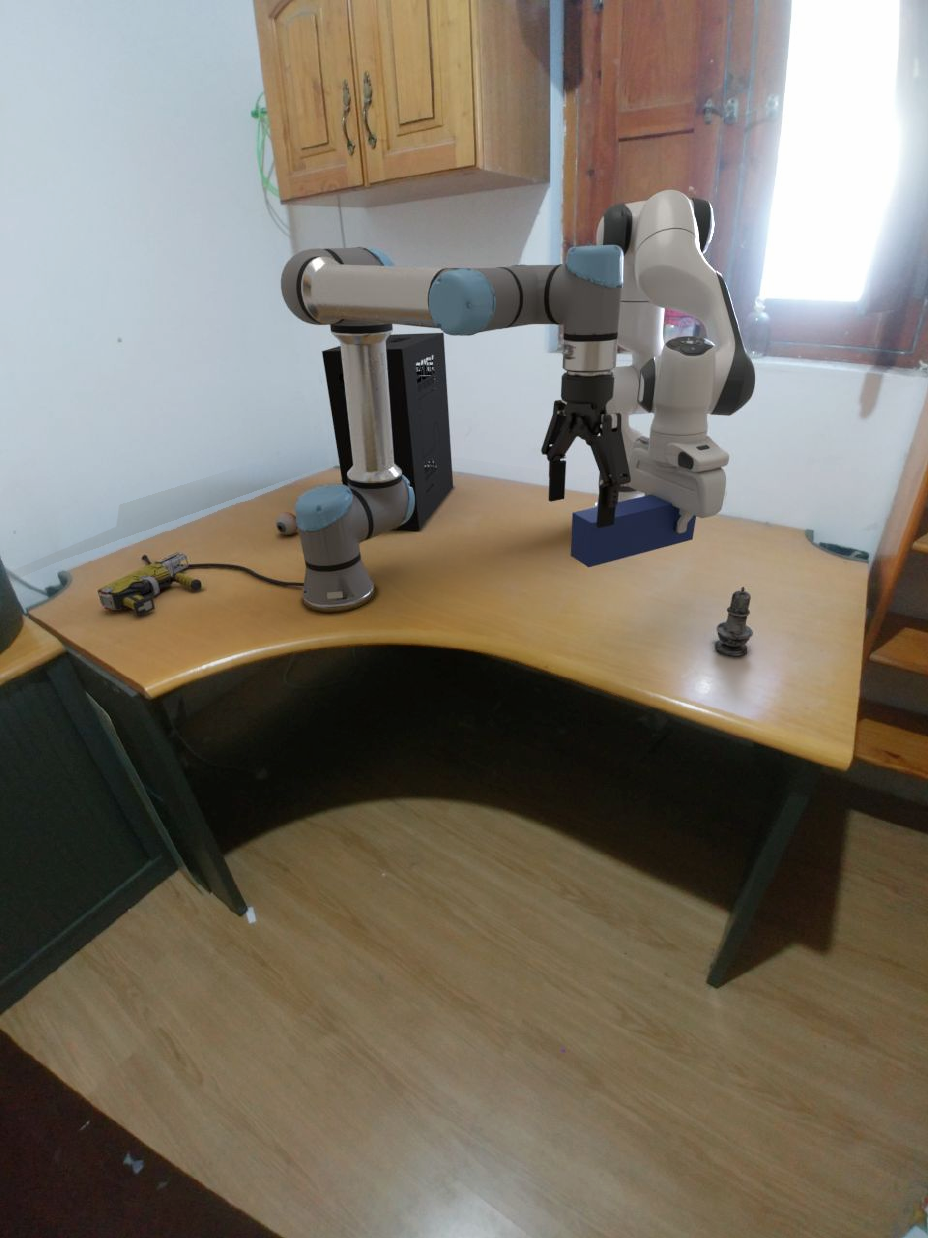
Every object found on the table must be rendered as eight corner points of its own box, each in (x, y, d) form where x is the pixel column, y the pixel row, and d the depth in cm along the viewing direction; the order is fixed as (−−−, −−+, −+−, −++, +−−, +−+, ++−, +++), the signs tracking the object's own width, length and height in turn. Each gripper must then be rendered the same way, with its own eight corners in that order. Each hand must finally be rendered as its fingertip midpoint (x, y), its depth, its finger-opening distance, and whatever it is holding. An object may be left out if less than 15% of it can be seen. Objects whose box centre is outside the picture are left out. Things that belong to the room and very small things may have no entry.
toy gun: (225, 560, 144) (174, 549, 148) (148, 603, 124) (91, 589, 127) (228, 578, 146) (177, 567, 150) (152, 623, 126) (96, 609, 130)
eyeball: (273, 537, 164) (268, 516, 161) (287, 528, 169) (282, 508, 166) (291, 539, 161) (286, 518, 158) (305, 530, 166) (301, 510, 163)
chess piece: (752, 657, 103) (766, 595, 97) (715, 655, 104) (727, 594, 98) (745, 639, 108) (758, 579, 102) (711, 637, 109) (721, 578, 103)
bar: (671, 529, 111) (677, 488, 107) (692, 539, 107) (699, 497, 103) (570, 555, 104) (572, 512, 100) (588, 567, 100) (591, 523, 96)
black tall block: (419, 530, 162) (402, 348, 140) (349, 527, 167) (321, 351, 144) (453, 486, 194) (443, 332, 171) (393, 485, 198) (376, 334, 176)
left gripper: (521, 363, 95) (520, 493, 106) (621, 386, 75) (607, 543, 86) (562, 359, 98) (556, 486, 108) (669, 380, 78) (649, 533, 89)
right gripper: (621, 436, 106) (615, 510, 114) (706, 464, 90) (693, 549, 97) (649, 430, 109) (642, 504, 116) (738, 457, 92) (722, 541, 99)
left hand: (579, 512), depth 97 cm, fingers open, 13 cm apart
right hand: (666, 525), depth 106 cm, fingers closed on bar, 5 cm apart
